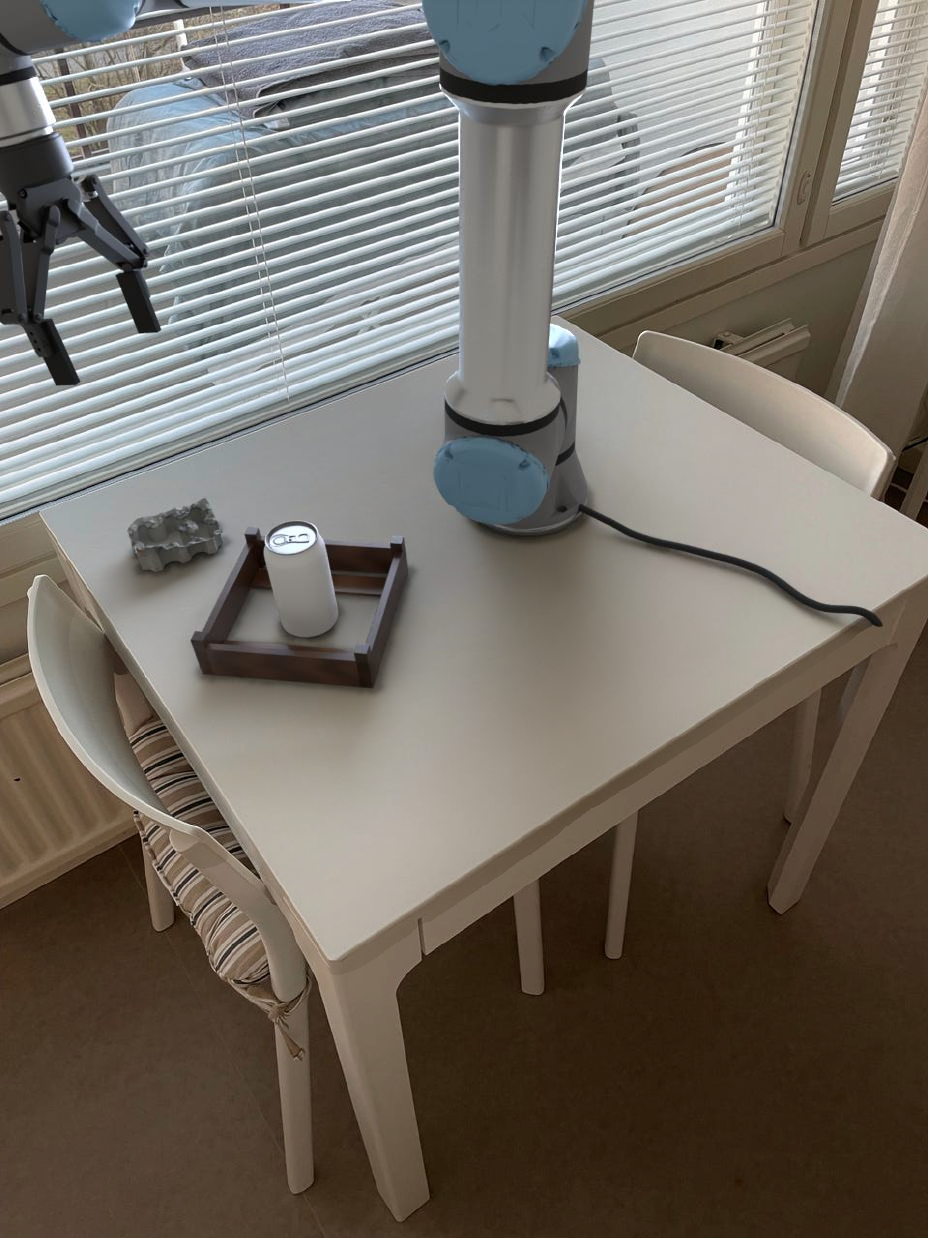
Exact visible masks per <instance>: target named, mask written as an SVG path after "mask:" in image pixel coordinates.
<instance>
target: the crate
mask: <svg viewBox="0 0 928 1238" xmlns="http://www.w3.org/2000/svg"><path fill="white" fill-rule="evenodd" d="M265 536H266V535H261V530H260V527H252V526H248V527H247V528H246V530H245V532H244V539H245V544H244V547H243V548H242V551H240V554H239V557H238V558H237V561H236V562H235V565H234V566H233V568H232V569H231V570H232V571H230V574H229V576H228V578H227V580H226V582H225V584H224V586H223V588H222V591H221V592H220V594H219V597H217V600H216V602H215V604H214V606H213V608H212V610H211V612H210V614H209V616H208V618H207V620H206V621H205V624H204V625H203V628H202V630H201V631H200V630H195V631H194V632H193V634H192V636H191V638H190V644H191V646H192V649H193V651H194V654H195V657H196V661H197V662H198V665H199V668H200V671H201V674H202V675H209V676H220V677H221V676H222V677H223V676H224V677H236V678H244V679H245V678H248V679H260V680H269V681H270V680H271V681H282V682H294V683H303V684H305V683H306V684H315V685H316V684H317V685H329V686H339V687H340V686H342V687H351V688H352V687H353V688H363V689H364V688H365V689H374V686H375V684H376V679H377V676H378V674H379V669H380V667H381V666H380V665H381V663H382V659H383V656H384V653H385V650H386V646H387V643H388V639H389V636H390V631H391V628H392V626H393V622H394V619H395V616H396V612H397V610H398V606H399V602H400V599H401V595H402V593H403V589H404V586H405V582H406V579H407V575H408V572H409V567H408V558H407V557H408V556H407V549H406V548H407V547H406V539H405V536H404V535H403V536H402V535H392V536H391V538H390V541H389V543H387V542H369V541H356V540H355V541H354V540H339V539H323V541H324V544H325V548H326V552H327V557H328V562H329V567H330V571H339V572H353V573H368V574H370V573H371V574H382V575H383V574H384V575H387V576H386V577H385V576H372V575H371V576H370V575H357V574H356V575H355V574H342V573H341V574H340V573H331V577H332V582H333V587H334V592H335V595H348V596H364V597H377V598H379V602H378V605H377V607H376V611H375V613H374V617H373V619H372V623H371V626H370V630H369V632H368V636H367V639H366V642H365V643H356V644H355V648H354V649H345V648H344V649H343V648H333V647H318V646H307V645H293V644H281V643H268V642H257V641H256V642H253V641H244V640H243V641H242V640H232V639H231V640H229V639H228V638H229V636H230V633H231V631H232V629H233V627H234V625H235V623H236V620H237V618H238V617H239V614H240V612H241V610H242V608H243V606H244V603H245V601H246V599H247V598H248V595H249V593H250V591H251V589H263V590H273V589H272V585H271V582H270V578H269V574H268V570H267V568H266V567H267V566H266V562H265V558H264V548H265Z"/></svg>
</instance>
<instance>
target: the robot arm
mask: <svg viewBox="0 0 928 1238" xmlns="http://www.w3.org/2000/svg"><path fill="white" fill-rule="evenodd" d="M345 1H347V2H348V1H350V0H0V194H1V195H2V196H3V197H4V198H5V201H6V205H7V210H0V324H1V325H3V326H14V325H15V326H21V328H22V329H23V330H24V332H25V334H26V336H27V338H28V341H29V342H30V344H31V347H32V349H33V352H34V353H35V355H37V356H38V358H42V359H43V361H44V363H45V365H46V367H47V369H48V372H49V374H50V376H51V378H52V380H53V382H54V385H55V386H58V387H59V386H77V385H78V384H80V383H81V379H80V377H79V375H78V372H77V370H76V368H75V366H74V364H73V362H72V358H71V357H70V355H69V353H68V351H67V348H66V346H65V344H64V341H63V339H62V338H61V335H60V333H59V331H58V328H57V326H56V324H55V322H54V319H53V318H45V310H46V309H45V308H46V300H47V289H48V281H49V280H48V279H49V272H50V271H49V270H50V262H51V256H52V254H54V252H55V249H56V246H59V245H60V246H61V245H62V244H64V243H65V242H66V241H67V240H68V239H72V238H76V237H77V238H79V239H80V240H81V241H82V242H84V243H85V244H86V245H88V246H89V247H90V248H91V249H93V250H94V251H96V253H98V254H99V255H101V256H102V257H103V258H104V259H106V260H107V261H108V262H110V263H111V264H112V265H113V266H115V267H116V268H117V269H119V270H120V271H123V272H118V273H116V274H115V279H116V281H117V283H118V285H119V288H120V290H121V293H122V296H123V298H124V301H125V303H126V305H127V308H128V311H129V313H130V316H131V318H132V321H133V322H134V325H135V328H136V330H137V333H138V335H139V334H140V335H141V334H157V333H159V332H161V331H162V327H161V325H160V322H159V320H158V317H157V315H156V312H155V309H154V307H153V304H152V302H151V299H150V298H151V291H150V288H149V286H148V283H147V281H146V279H145V276H144V273H143V269H147V268H148V266H149V262H148V259H147V258H149V257H150V256H151V249H150V247H149V246H148V245H147V243H145V241H144V240H143V238H142V237H141V236H140V235H139V234H138V232H137V231H136V230H135V229H134V227H133V226H132V225H131V223H130V222H129V221H128V220H127V218H126V217H125V216H124V215H123V214H122V212H121V211H120V209H119V208H118V207H117V206H116V205H115V203H114V202H113V201H112V200H111V198H110V197H109V196H108V194H107V192H106V190H105V188H104V186H103V184H102V182H101V180H100V178H99V176H98V174H95V173H94V174H92V173H91V174H85V175H78V176H74V177H72V174H73V173H74V172H75V166H74V163H73V160H72V158H71V155H70V153H69V150H68V148H67V145H66V143H65V140H64V138H63V136H62V134H61V133H59V131H55V130H54V129H53V126H54V125H55V124H56V122H57V120H56V117H55V114H54V113H53V109H52V107H51V105H50V103H49V100H48V98H47V95H46V93H45V91H44V88H43V86H42V85H43V84H42V83H41V80H40V78H39V76H38V74H37V71H36V69H35V65H34V62H33V60H32V57H31V56H34V55H36V54H39V53H42V52H47V51H52V50H55V49H56V50H57V49H62V48H66V47H72V46H76V45H80V44H86V43H90V44H96V43H102V42H103V41H104V40H106V39H109V38H111V37H114V36H116V35H119V34H123V33H126V32H127V31H129V30H130V29H131V28H132V27H133V26H134V25H135V22H136V18H138V17H139V16H142V15H144V14H146V13H150V12H156V11H169V10H170V11H171V10H173V11H174V10H184V9H193V8H213V7H236V6H257V5H259V6H261V5H279V4H301V3H302V4H303V3H304V4H305V3H322V2H323V3H324V2H345ZM595 1H596V0H421V6H422V11H423V15H424V19H425V22H426V26H427V28H428V31H429V33H430V35H431V38H432V39H433V41H434V43H435V44H436V45H437V47H438V67H439V68H438V74H439V75H438V76H439V77H438V79H439V89H440V91H441V92H442V93H443V94H444V96H446V98H447V99H448V100H449V101H450V102H451V103H452V104H453V105H454V106H455V107H456V109H457V111H458V299H459V300H458V304H459V305H458V324H459V325H458V334H459V335H458V336H459V337H458V339H459V340H458V341H459V343H458V345H459V346H458V351H459V352H458V353H459V354H458V355H459V358H458V360H459V361H458V362H459V363H458V365H459V367H458V368H459V369H458V370H456V371H455V372H453V374H452V375H451V376H449V378H448V379H447V380H446V382H445V386H444V390H443V391H444V399H443V400H444V401H443V402H444V435H443V437H444V438H443V443H442V445H441V446H440V448H439V449H438V451H437V453H436V455H435V459H434V466H433V480H434V485H435V487H436V489H437V491H438V493H439V494H440V497H441V498H442V499H443V500H444V502H446V504H447V505H449V506H451V507H453V508H455V511H456V512H458V513H459V514H460V515H462V516H464V517H466V518H468V519H471V520H473V521H475V522H477V523H478V524H479V525H480V526H482V527H483V528H485V529H486V530H488V531H490V532H492V533H495V534H498V535H502V536H506V537H511V538H519V539H535V538H536V539H537V538H542V537H543V538H544V537H548V536H552V535H556V534H558V533H561V532H563V531H565V530H567V529H569V528H571V527H572V526H574V525H575V524H577V523H578V521H580V520H581V518H582V517H583V516H584V515H587V516H589V517H591V518H592V519H595V520H597V521H598V522H601V523H602V524H605V525H607V526H608V527H610V528H613V530H616V531H617V532H620V533H621V534H623V535H625V536H626V537H627V536H628V537H629V538H632V539H634V540H636V541H639V542H642V543H646V544H649V545H653V546H656V547H660V548H665V549H670V550H675V551H679V552H684V553H687V554H688V553H689V554H692V555H696V556H699V557H703V558H707V559H711V560H715V561H718V562H722V563H726V564H730V565H732V566H736V567H739V568H742V569H745V570H748V571H750V572H752V573H755V574H757V575H759V576H761V577H763V578H764V579H767V580H768V581H770V582H772V583H773V584H774V585H775V586H777V587H778V588H780V589H781V590H782V591H783V592H785V593H786V594H787V595H788V596H790V597H791V598H792V599H794V600H796V602H799V603H801V604H803V605H804V606H806V607H808V608H810V609H813V610H816V611H819V612H823V613H828V614H829V613H830V614H845V615H846V614H847V615H856V616H861V617H863V618H865V619H866V620H867V621H869V622H870V623H871V625H873V626H874V627H877V628H882V627H883V626H884V624H883V622H882V620H881V619H880V618H879V617H878V616H877V615H876V614H875V613H874V612H872V611H871V610H869V609H867V608H865V607H861V606H857V605H848V604H847V605H846V604H845V605H843V604H829V603H823V602H819V601H817V600H814V599H812V598H811V597H809V596H806V595H805V594H803V593H801V592H800V591H799V590H797V589H796V588H794V587H793V586H791V584H790V583H788V582H787V581H786V580H784V579H783V578H781V577H780V576H779V575H778V574H776V573H774V572H772V571H771V570H769V569H768V568H767V569H766V568H765V567H763V566H761V565H759V564H756V563H753V562H751V561H748V560H745V559H743V558H739V557H736V556H733V555H729V554H725V553H721V552H716V551H714V550H708V549H705V548H702V547H698V546H694V545H689V544H686V543H681V542H677V541H672V540H666V539H663V538H658V537H655V536H651V535H647V534H644V533H642V532H639V531H636V530H634V529H632V528H630V527H628V526H626V525H624V524H623V523H620V522H618V521H617V520H615V519H613V518H612V517H609V516H607V515H605V514H603V513H601V512H599V511H597V510H595V509H593V508H591V507H590V506H588V501H589V489H588V483H587V482H588V481H587V479H586V475H585V473H584V470H583V467H582V465H581V464H582V463H581V462H580V458H579V456H578V452H577V449H576V436H577V411H578V409H577V408H578V389H579V386H578V385H579V365H580V364H581V358H580V350H579V341H578V339H577V338H576V336H575V335H574V334H573V333H572V332H571V331H569V330H568V329H566V328H563V327H562V326H560V325H557V324H553V323H551V319H552V308H553V293H554V292H553V291H554V279H555V264H556V251H557V237H558V236H557V235H558V222H559V210H560V209H559V208H560V194H561V182H562V181H561V180H562V164H563V163H562V162H563V153H564V139H565V138H564V137H565V122H566V113H567V112H568V110H569V109H570V107H572V106H573V105H574V104H575V103H576V102H577V101H578V100H579V99H580V98H581V97H582V96H583V95H584V94H585V93H586V90H587V86H588V75H589V65H590V56H591V55H590V54H591V43H592V33H593V32H592V30H593V19H594V18H593V17H594V9H595ZM83 206H84V207H85V208H86V209H85V208H84V207H83Z"/></svg>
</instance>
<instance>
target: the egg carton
mask: <svg viewBox="0 0 928 1238" xmlns="http://www.w3.org/2000/svg"><path fill="white" fill-rule="evenodd" d="M126 531H127V534H128V539H129V541H130V542H131V550H132V553H133V554H136V556H137V558H138V560H139V563H140V566H141V569H142V571H147V570H149V571H153V572H157V573H159V572H161V571H163V570H164V568H165V566H166V565H167V564H169V563H171V562H179V563H182V564H184V563H186V562H189V561H191V560H192V558H193V556H194V555H196V554H198V553H207V554H208V555H212V554H216V553H217V552H218V549H219V547H221V546H222V545H223V544H224V540H223V536H222V534H223V529H222V527H221V526H220V524H219V521H218V519H217V517H216V515H215V512H214V510H213V509H212V507H211V505H210V502H209V501H208V500H207V498H206V497H203V498H202V499H200V500H198V501H196V502H193V503H191V505H188V506H186V505H183V506H182V507H181V508H178V507H173V508H172V509H170V510H167V511H163V512H160V513H158V514H155V515H150V516H141V517H138V518H136V519H135V520H134V521H133V522H132V523H131V524H130V525H129V526H128V528H127V530H126Z"/></svg>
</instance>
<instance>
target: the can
mask: <svg viewBox="0 0 928 1238" xmlns="http://www.w3.org/2000/svg"><path fill="white" fill-rule="evenodd" d="M264 536H265V548H264V558H265V562H266V566H265V567H266V569H267V570H268V574H269V578H270V582H271V585H272V589H271V590H272V593H273V596H274V597H273V598H274V600H275V605H276V608H277V612H278V615H279V618H280V622H281V626H282V628H283V629H284V630H285V632H287V633H288V634H290V635H292V636H294V637H298V638H301V639H309V638H310V639H311V638H315V637H319V636H322V635H324V634H325V633H327V632H328V631H330V630H331V629H332V628H333V627H334V626H335V624H336V623H337V621H338V619H339V608H338V602H337V598H336V594H335V592H334V587H333V582H332V577H331V574H332V573H331V572H332V571H331V570H330V567H329V562H328V557H327V552H326V548H325V544H324V541H323V540H324V539H323V537H322V536H321V534H320V533H319V529H318V528H317V527H316V526H315V525H314V524H313V523H311V522H309V521H307V520H306V521H305V520H297V519H295V520H287V521H283V522H281V523H278V524H276V525H274V526H273V527H272V528H270V529H269V530H268V531H267V533H266V534H265V535H264Z"/></svg>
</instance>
